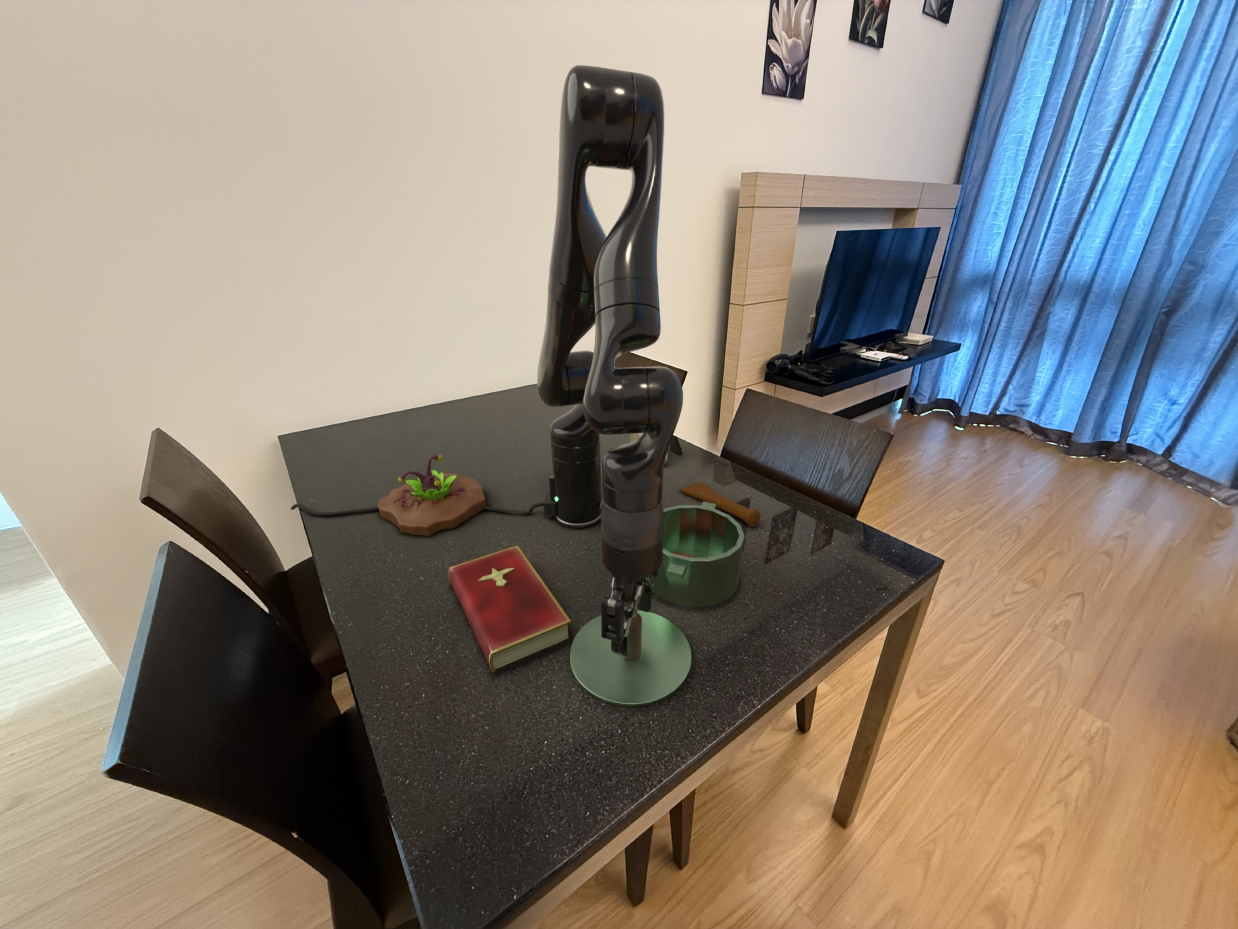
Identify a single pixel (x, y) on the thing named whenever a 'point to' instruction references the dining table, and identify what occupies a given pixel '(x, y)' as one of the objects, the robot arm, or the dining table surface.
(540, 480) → the dining table surface
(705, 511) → the pot
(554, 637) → the hardcover book
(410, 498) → the plant
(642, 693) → the lid
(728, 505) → the primitive tool
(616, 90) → the robot arm
